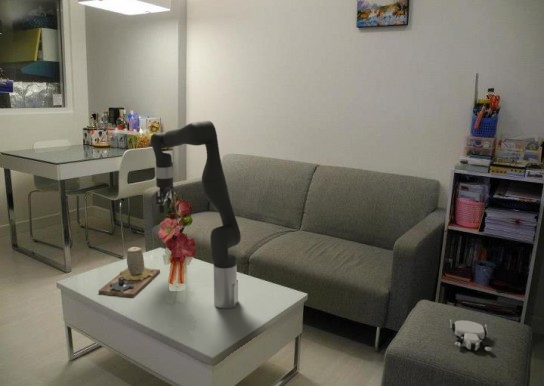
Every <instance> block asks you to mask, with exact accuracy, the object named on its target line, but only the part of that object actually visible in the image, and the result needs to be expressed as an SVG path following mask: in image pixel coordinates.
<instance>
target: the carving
mask: <svg viewBox="0 0 544 386" xmlns="http://www.w3.org/2000/svg"><path fill="white" fill-rule="evenodd" d="M143 253H144V252H143V250H142V248H141V247H137V246H133V247H132V246H131V247H129V248H128V249H127V251H126V265H127V268H128V270H129V272H130V274H131V275H137V274H140V273H142V272H143V271H144V266H145V259H144V254H143Z"/></svg>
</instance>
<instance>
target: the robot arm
mask: <svg viewBox="0 0 544 386" xmlns="http://www.w3.org/2000/svg"><path fill="white" fill-rule="evenodd" d="M216 130H217V129H216V127H215V125H214V123H213V122H212V121H210V120H202V121H201V120H199V121H192V122H190V123H187V124H186V125H185V126H183V127H181V128H177V129H176V128H175V129H171V130H168V131H163V132H154V133H152V135H151V137H150V144H151V147H152V150H153V153H154V156H155V179H156V180H155V183H156V187H157V188H159V191H156V192H155V197H156V201H155V202H156V205H157V206H158V208H159V209H158V210H159V213H160V214H164V213H165V211H166V210H165V203H166V207H167V209H170V208H169V206H170V203H171V200H172V201H173V199H174V198H173V195H174V196H175V192H174V191H175V190H174V173H173V160H172V159H173V158H172V154H170V153H167V152H164V151H163V150H162V149H169V148H174V147H179V146H182V145H190V146H203V145H204V146H205V150H206V161H205V164H204V168H203V171H202V174H201V183H202V188H203V191H204V192H203V193H204V195H205V197H206V198H207V200H208V202H209V203H210V204H211V205H212V206H213V207H214V208H215V209H216V211H217V212H218V214H219V217H220V221H221V223H222V224H221V226H217V227H214V228H213V229H212V230H211V233H210V253H211V254H210V255H211V258H212V261H213V262H212V263H213V302H214V303H213V304H214V306H215V307H216V308H220V309H231V308H235V307H236V306H237V304H238V302H239V279H238V278H237V277H238V276H237V274H238V273H237V270H238V269H237V263H238V262H237V261H238V260H237V257H236V256H235V255H234V254H230V253H229V249H230V248H232V247H235V246H238V245H239V244H240V242H241V238H242V237H241V236H242V235H241V230H240V227H239V224H238V221H237V217H236V216H235V212H234V208H233V206H232V205H233V204H232V202H231V198H230V194H229V190H228V189H229V188H228V185H227V180H226V177H225V173H224V169H223V165H222V159H221V154H220V149H219V142H218V133H217V131H216ZM172 198H173V199H172Z"/></svg>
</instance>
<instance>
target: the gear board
mask: <svg viewBox="0 0 544 386" xmlns="http://www.w3.org/2000/svg"><path fill="white" fill-rule="evenodd" d="M160 273H161V269H158V268H157V269H156V268H147V267H146V266H145V265H144V271H143V272H142V273H140V274H137V275H131V274H130V272H129V270H128V267H126V268H125V269H124V270H120V271H119V273H118V275H116V276H115V277H114V278H113V279H111V280H110V281H109V282H107V283H106V284H105V285H103V287H101V288H100V289H98V294H99V295H108V296H109V295H110V296H116V297H117V296H118V297H124V298H125V297H126V298H135V297H136V296H137V295H138V294H139V293H140V292H141V291H142V290H143V289H144V288H145V287H147V286H148V285H149V284H150V283H151V282H152V281H153V280H154V279H155V278H156V277H157V276H158V275H159V274H160Z"/></svg>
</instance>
